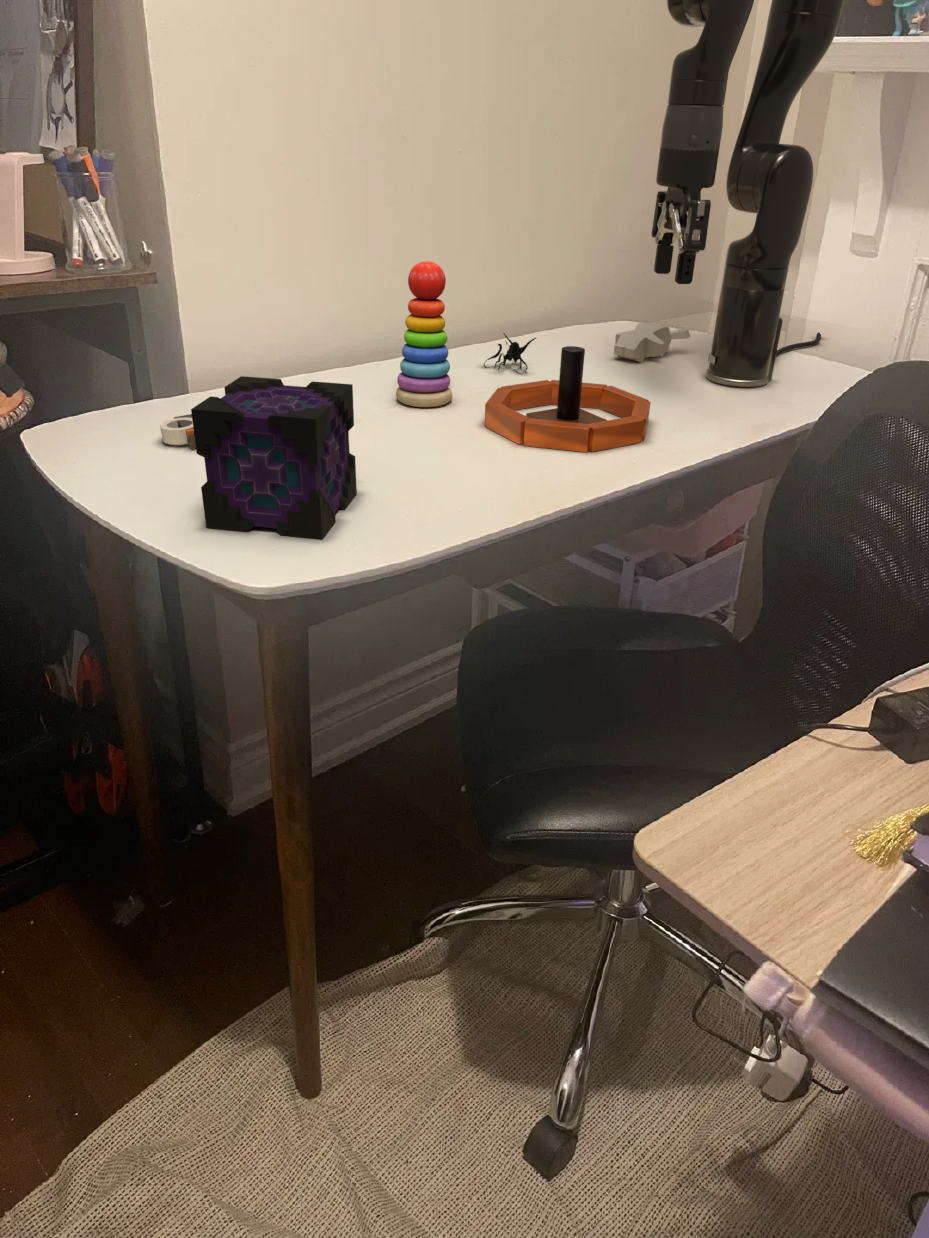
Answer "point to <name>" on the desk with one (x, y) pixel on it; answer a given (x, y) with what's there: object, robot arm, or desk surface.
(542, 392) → the ring
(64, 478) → the desk surface
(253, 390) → the energy cube
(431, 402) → the stacking toy
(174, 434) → the tape dispenser
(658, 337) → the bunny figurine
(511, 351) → the creature
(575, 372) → the post
